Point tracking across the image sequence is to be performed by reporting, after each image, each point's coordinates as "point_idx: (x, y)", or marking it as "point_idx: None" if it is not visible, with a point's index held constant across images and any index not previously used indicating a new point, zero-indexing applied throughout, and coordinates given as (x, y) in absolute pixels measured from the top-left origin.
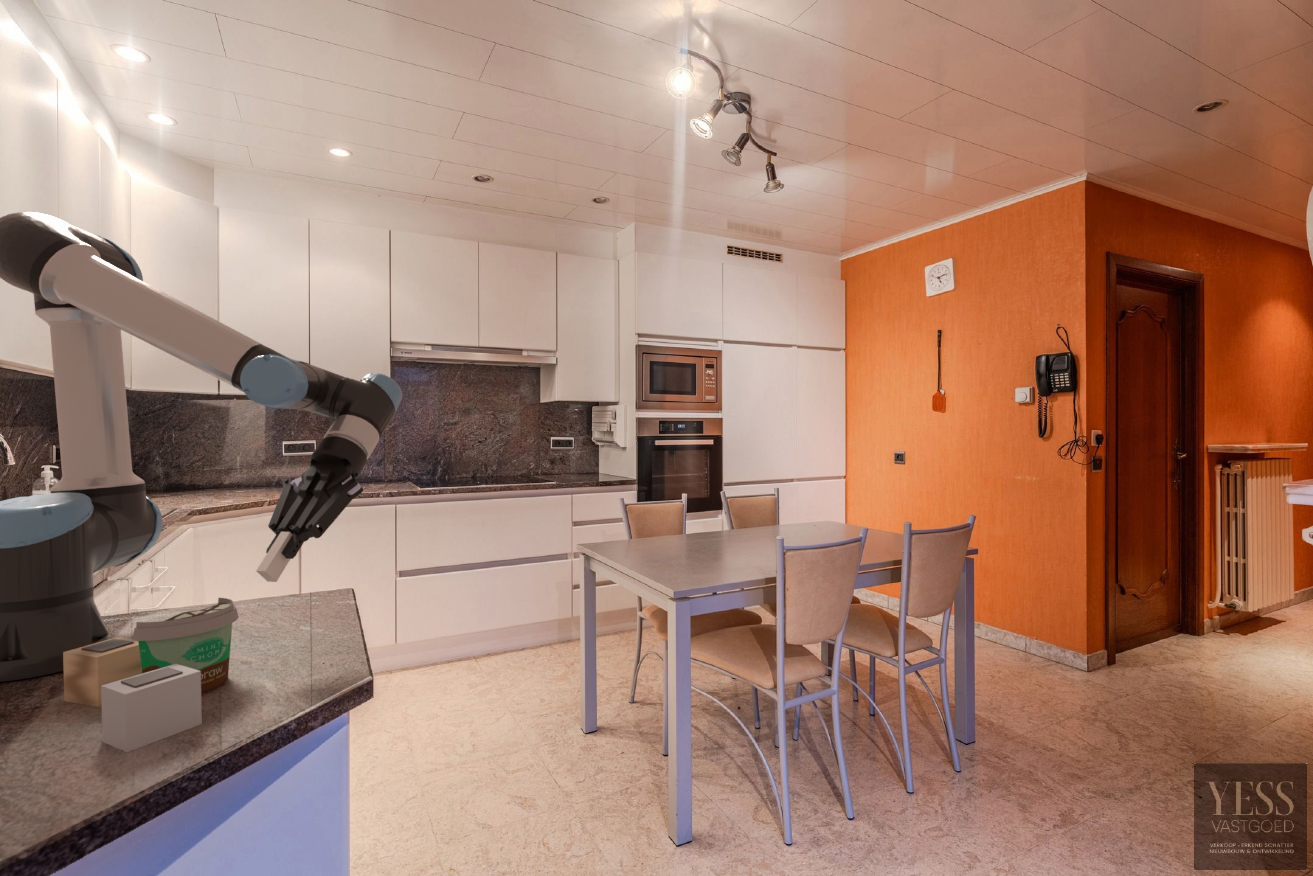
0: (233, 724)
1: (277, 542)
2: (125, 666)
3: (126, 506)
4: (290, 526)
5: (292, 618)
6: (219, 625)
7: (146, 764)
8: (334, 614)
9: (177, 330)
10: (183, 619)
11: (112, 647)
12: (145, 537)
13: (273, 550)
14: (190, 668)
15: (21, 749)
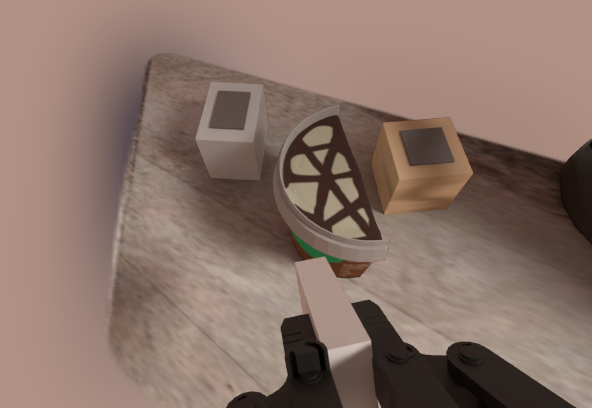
0: (174, 188)
1: (338, 311)
2: (385, 165)
3: None
4: (321, 347)
5: None
6: (274, 191)
7: (182, 120)
8: None
9: None
10: (289, 136)
11: (405, 141)
12: None
13: (326, 294)
14: (217, 139)
15: (320, 99)
